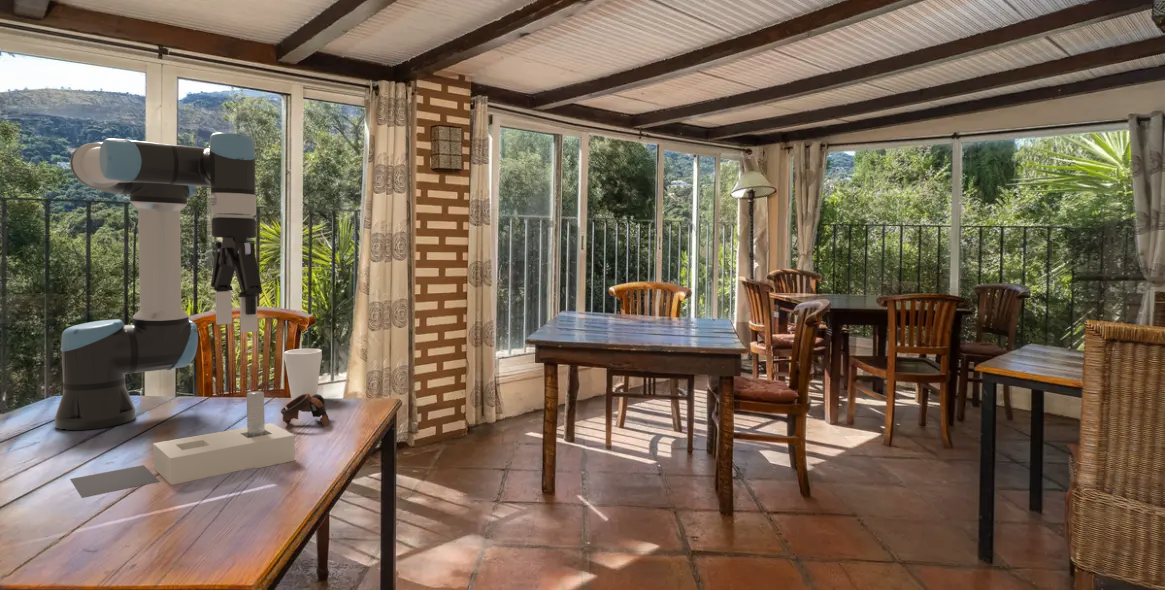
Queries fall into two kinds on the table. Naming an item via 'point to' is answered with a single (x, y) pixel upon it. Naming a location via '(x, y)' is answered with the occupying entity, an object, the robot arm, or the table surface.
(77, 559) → the table surface
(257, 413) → the peg
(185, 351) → the robot arm
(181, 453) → the hole block
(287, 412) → the brown arched piece
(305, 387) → the foam cup
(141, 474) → the mat
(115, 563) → the table surface
